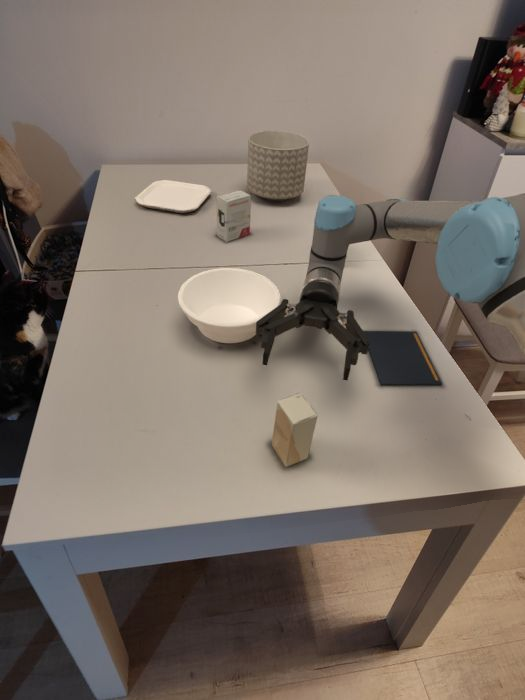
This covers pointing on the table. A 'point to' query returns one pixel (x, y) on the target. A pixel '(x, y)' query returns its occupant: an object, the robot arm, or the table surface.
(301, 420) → the box
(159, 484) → the table surface
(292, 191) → the planter
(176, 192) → the plate
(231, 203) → the ink box
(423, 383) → the desk mat
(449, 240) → the robot arm
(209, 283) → the bowl
